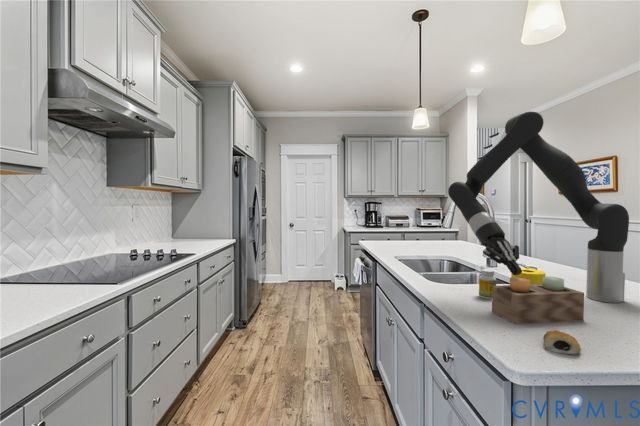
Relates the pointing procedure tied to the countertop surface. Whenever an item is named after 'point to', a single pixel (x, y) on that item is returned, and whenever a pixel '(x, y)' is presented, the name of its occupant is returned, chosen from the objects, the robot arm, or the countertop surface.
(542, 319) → the wooden compartment box
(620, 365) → the countertop surface
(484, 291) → the supplement bottle
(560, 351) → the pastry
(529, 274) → the tape roll
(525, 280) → the orange button
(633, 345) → the countertop surface
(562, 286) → the sage button
